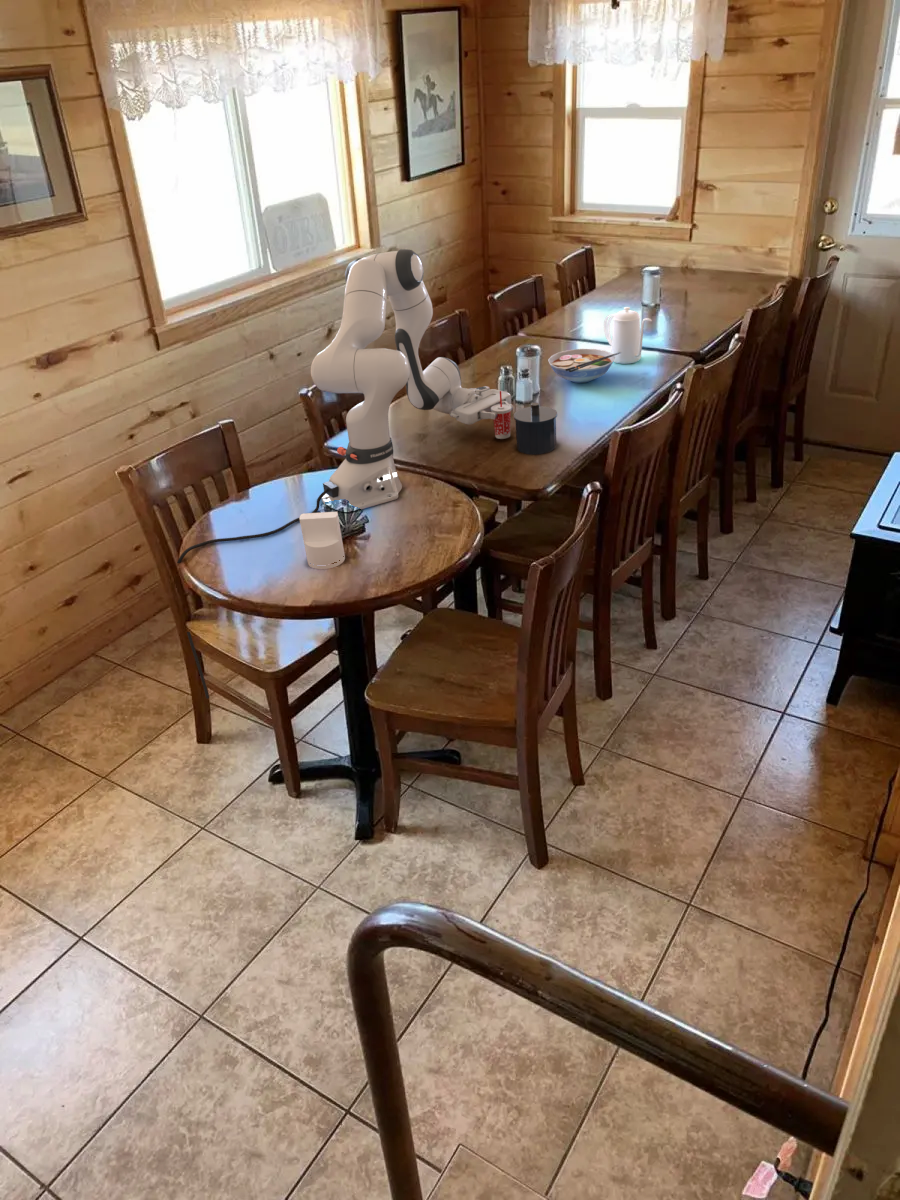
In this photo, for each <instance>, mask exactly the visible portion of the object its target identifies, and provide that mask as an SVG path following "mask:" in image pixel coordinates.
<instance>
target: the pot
mask: <svg viewBox="0 0 900 1200" xmlns="http://www.w3.org/2000/svg"><path fill="white" fill-rule="evenodd" d="M514 420H515V419H514ZM514 422H515V439H516V442H515V443H516V449H517V451H518V452H520V453H522V454H526V455H543V454H544V455H545V454H549V453H550V452H552V451H554V450H556V448H557V417H556V418H555V419H554V420H552V421H549V422H546V423H540V424H525V423H520V422H518V421H516V420H515V421H514Z"/></svg>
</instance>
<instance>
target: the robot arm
mask: <svg viewBox="0 0 900 1200" xmlns="http://www.w3.org/2000/svg"><path fill="white" fill-rule="evenodd" d="M344 280H345V281H344V282H345V289H344V297H343V309H342V316H341V321H340V326H339V329H338V331H337V332H336V335H335V336H334V338H333V340H331V342H330V343H329V344H328V345H327V346H326V347H325V348H324V349H323V350H322V351H320V352H318V353H317V354H316V355H315V356H314V358H313V360H312V362H311V364H310V376H311V379H312V382H313V384H314V385H315V387H316V388H317V389H318V390H319V391H321V392H322V391H323V392H327V393H333V394H363V399H364V400H363V401H361V402H359V403H357V404H356V405H354V406H353V407H351V409H349V410H348V412H347V414H346V415H345V416H346V418H345V423H346V430H347V437H348V444H347V448H345V447H343V446H339V447H338V448H337V449H336V450H337V451H336V452H337V454H338V455H340V456H342V457H343V456H345V459H344V460H343V461H342V462H341V463H340V464H339V466H338V467H337V468H336V469H335V471H334V472H333V473H331V475H330V477H329V479H328V481H325V482H323V483H322V487H323V488H322V489H323V491H322V493H320V494H319V495H318V497H317V499H316V507H315V509H314V510H313V511H312V512H311V513H318V511H319V509H320V506H321V505H320V504H321V502H322V503H323V505H325V502H329V501H334V500H340V499H346V500H348V501H349V503H350V504H351V505H353V506H355V507H358V508H360V509H361V510H364V509H367V508H371V507H374V506H378V505H381V504H385V503H388V502H392V501H395V500H397V499H399V493H400V492H401V491H402V489H403V484H402V482H401V480H400V478H399V477H400V476H399V474H398V472H397V468H396V464H395V460H394V444H393V439H392V437H391V435H390V423H389V422H390V421H389V413H390V406H391V404H392V401H393V399H394V398H395V397H396V395H397V394H398V393H399V391H401V390H402V389H403V388H404V387H405V389H406V396H407V399H408V401H409V404H410V405H412V407H414V408H416V410H417V409H418V410H421V411H431V410H434V411H436V412H439V413H443V414H446V415H449V416H450V417H451V418H454V419H455V420H456V421H457V422H459V423H461V424H464V425H468V426H469V425H473V424H474V425H475V424H476V423H477V422H480V421H481V420H493V419H496V418H497V417H498V416H497V412H492V411H491V407H492V406H494V405H497V404H500V391H501V396H502V404H508V405H511V407H512V408H511V412H512V411H513V410H514V405H513V404H512V395H511V394H510V392H507V391H504V390H500V389H495V388H491V389H490V386H488V385H487V386H486V385H484V386H479V387H473V388H472V387H469V388H466V387H462V377H461V371H460V368H459V366H458V364H457V363H456V362H455V361H454V360H452V359H450V358H448V357H446V356H445V357H444V356H437V357H436V358H435V359H434V360H433V361H432V362H431V363H429V365H428V366H426V368H425V369H424V370H423V368H422V364H421V360H420V357H419V347H420V344H421V341H422V338H423V337H424V334H425V332H426V330H427V329H428V328H429V325H430V324H431V322H432V319H433V315H434V309H433V303H432V299H431V297H430V295H429V292H428V290H427V287H426V285H425V283H424V281H423V280H424V265H423V262H422V259H421V258H420V256H419V254H418V253H416V252H415V251H414V250H412V249H408V248H407V249H405V248H404V249H402V248H401V249H399V250H393V251H385V252H377V253H374V254H370V255H367V256H364V257H359V258H356V259H354V260H352V261H350V262H349V264H348V265H347V267H346V269H345V271H344ZM387 300H389V304H390V306H391V308H392V311H393V314H394V319H395V332H394V342H395V343H394V344H395V347H396V349H392V348H385V347H377V348H376V347H374V348H366V347H367V346H369V345H370V344H371V343H373V342H376V341H377V340H378V339H379V338H381V336H382V335H383V333H384V331H385V328H386V316H387ZM299 518H300V517H297V518H295V519H293V520H291V521H289V522H287V523H286V524H284V525H282V526H280V527H278V528H276V529H273V530H270V531H267V532H263V533H257V534H250V535H242V536H234V537H223V538H213V539H210V540H209V539H208V540H206V541H203V542H200V543H196V544H193V545H191V546H189V547H187V548H186V549H185V550H184V551H183V552H182V553H181V555H180V556H179V558H178V559H177V561H176V562H177V564H180V563H182V561H183V559H184V558H185V556H186V555H187V554H188V553H189V552H191V551H192V550H195V549H197V548H200V547H201V548H202V547H203V546H207V545H210V544H214V543H220V542H221V543H222V542H233V541H241V540H248V539H255V538H256V539H258V538H263V537H267V536H271V535H274V534H277V533H279V532H281V531H283V530H285V529H287V528H288V527H290V526H292V525H293V524H295V523H298V522H300V519H299ZM186 634H187V638H188V642H189V644H190V648H191V651H192V654H193V657H194V661H195V664H196V667H197V671H198V673H199V678H200V680H201V684H202V688H203V690H204V694H205V699H207V700H208V699H210V695H209V690H208V687H207V683H206V680H205V677H204V673H203V669H202V667H201V664H200V660H199V657H198V654H197V651H196V648H195V644H194V641H193V638H192V635H191V631H186Z"/></svg>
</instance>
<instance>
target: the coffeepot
mask: <svg viewBox="0 0 900 1200" xmlns="http://www.w3.org/2000/svg"><path fill="white" fill-rule="evenodd" d="M612 319H613V324H612V335H611V332H610V328H611V327H610V326H611V321H612ZM640 320H641V316H640V314H639V312H637V311H636V310H631V307H630V306H625V307H623V310H619V311H617V312H616V313H612V314H609V315H608V314H607V316H606V317H605V318H604V321H603V332H604V336H605V339H606V341H607V343H608V344H609V345H610V347H611V348H610V353H612V354H616V353H619V352H620V354H617V355H615V359H614V362H613V363H616V364H620V365H621V364H622V365H628V364H635V363H637V362H639V361H640V360H641V358H642V350H643V341H644V340H643V338H644V328H645V327H644V326H645V322H653V320H652V318H649V317H645V318H643V319H642V321H641V322H640ZM640 323H641V324H640Z"/></svg>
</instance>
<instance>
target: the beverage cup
mask: <svg viewBox="0 0 900 1200" xmlns="http://www.w3.org/2000/svg"><path fill="white" fill-rule="evenodd" d="M501 391H502V390H500V404H497V405H494V406H492V407H491V411H492V412H497V416H498V417H497V418H496V419H492V422H493V430H494V437H495V438H496V439H500V440H504V439H509V438H510V437H511V425H512V424H511V420H512V419H511V417H512V416H511V414H512V411H511V408H512V407H511V405H508V404H502V396H501Z"/></svg>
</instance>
